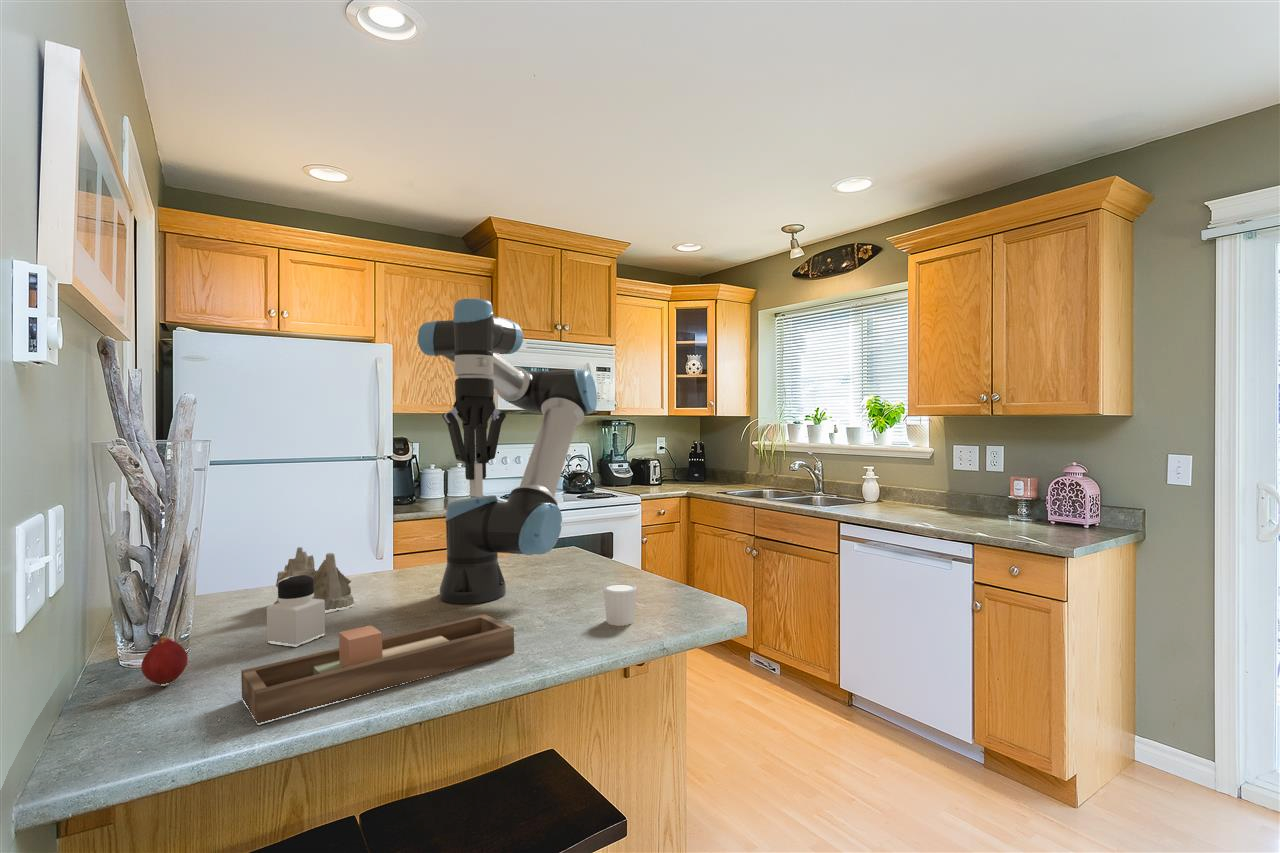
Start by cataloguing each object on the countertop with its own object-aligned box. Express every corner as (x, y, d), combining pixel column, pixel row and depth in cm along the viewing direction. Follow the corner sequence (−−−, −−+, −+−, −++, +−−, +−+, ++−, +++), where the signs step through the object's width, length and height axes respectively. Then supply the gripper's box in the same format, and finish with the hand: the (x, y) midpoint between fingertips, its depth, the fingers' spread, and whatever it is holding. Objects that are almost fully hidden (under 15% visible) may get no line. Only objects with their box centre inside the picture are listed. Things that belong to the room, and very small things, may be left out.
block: (339, 663, 103) (338, 632, 102) (371, 655, 106) (371, 625, 106) (349, 672, 99) (348, 640, 99) (382, 663, 102) (382, 632, 102)
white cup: (633, 627, 127) (632, 592, 127) (599, 625, 129) (599, 591, 129) (640, 617, 134) (639, 583, 134) (608, 615, 135) (608, 582, 135)
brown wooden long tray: (241, 700, 96) (241, 670, 96) (484, 637, 123) (484, 613, 123) (257, 726, 88) (256, 693, 88) (514, 652, 114) (513, 627, 114)
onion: (158, 679, 105) (157, 630, 104) (195, 677, 105) (194, 629, 105) (133, 694, 99) (132, 643, 99) (173, 692, 99) (171, 641, 99)
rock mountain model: (357, 609, 142) (352, 541, 142) (271, 624, 134) (267, 552, 134) (351, 596, 155) (347, 534, 156) (273, 609, 148) (269, 544, 148)
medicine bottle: (326, 635, 125) (325, 574, 125) (295, 648, 118) (294, 583, 118) (298, 632, 127) (296, 571, 127) (266, 644, 120) (265, 580, 120)
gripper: (451, 375, 121) (453, 500, 121) (512, 377, 130) (514, 494, 130) (435, 377, 127) (437, 497, 127) (494, 379, 135) (496, 491, 136)
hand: (476, 495), depth 129 cm, fingers closed
